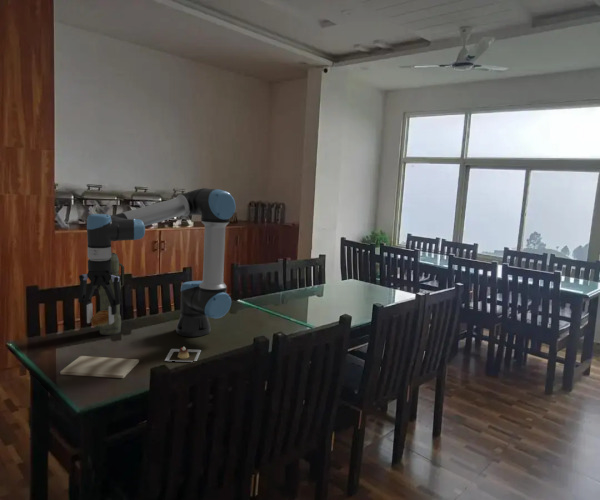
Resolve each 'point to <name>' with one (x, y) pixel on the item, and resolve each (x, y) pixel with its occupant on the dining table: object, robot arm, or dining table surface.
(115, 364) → the serving board
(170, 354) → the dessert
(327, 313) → the dining table surface
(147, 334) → the dining table surface
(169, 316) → the dining table surface
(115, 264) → the thermos
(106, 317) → the pastry
